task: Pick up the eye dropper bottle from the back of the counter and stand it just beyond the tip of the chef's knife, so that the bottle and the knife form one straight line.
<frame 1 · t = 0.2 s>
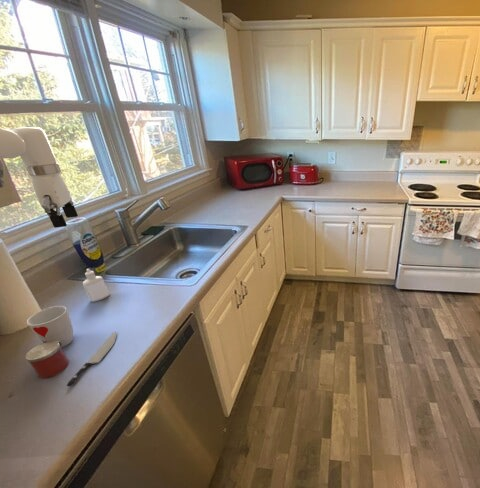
hand: (66, 221, 94), 27 cm above the countertop, tool pointing down, fingers open, 9 cm apart
chef's knife: (99, 357, 76), on the countertop
spice tin: (54, 368, 73), on the countertop
eye dropper bottle: (100, 298, 101), on the countertop
cup: (62, 342, 81), on the countertop
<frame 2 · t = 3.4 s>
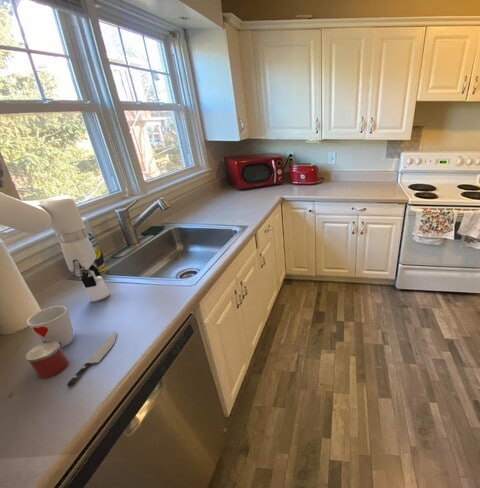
hand: (93, 282, 98), 7 cm above the countertop, tool pointing down, fingers closed on eye dropper bottle, 4 cm apart
eye dropper bottle: (100, 298, 101), on the countertop, touching gripper
everything else where it was.
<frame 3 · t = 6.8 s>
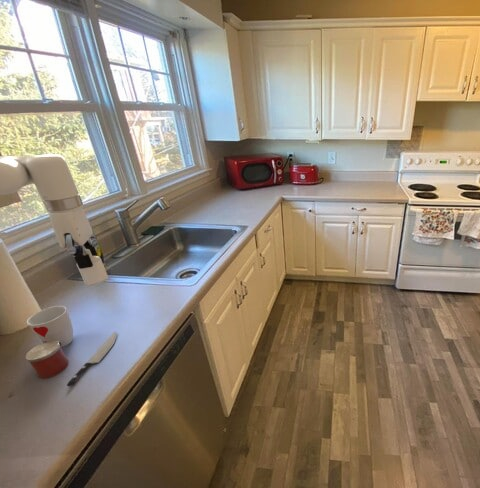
hand: (89, 262, 82), 21 cm above the countertop, tool pointing down, fingers closed on eye dropper bottle, 4 cm apart
eye dropper bottle: (97, 282, 85), point 14 cm above the countertop, touching gripper
everything else where it was.
when the fingers open (7 cm above the countertop, at t = 10.3 s): eye dropper bottle stays where it is, on the countertop.
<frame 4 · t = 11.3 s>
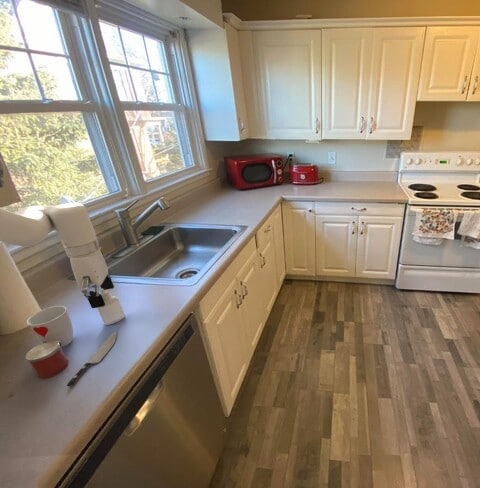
hand: (103, 297, 86), 9 cm above the countertop, tool pointing down, fingers open, 9 cm apart
eye dropper bottle: (115, 320, 90), on the countertop
everything else where it was.
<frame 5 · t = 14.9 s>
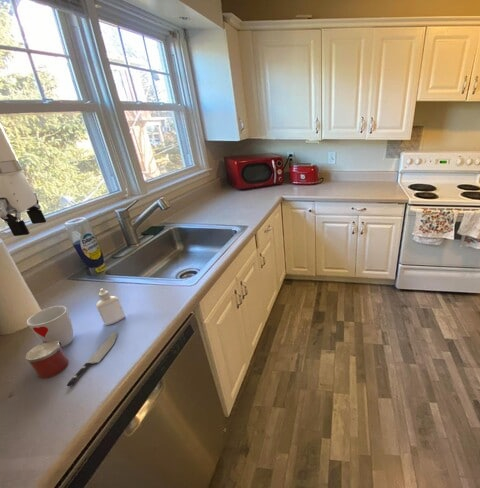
hand: (31, 228, 80), 30 cm above the countertop, tool pointing down, fingers open, 9 cm apart
nothing on the countertop moved.
at the end: eye dropper bottle 0.0 cm from the target spot on the countertop beside the chef's knife, on the countertop; eye dropper bottle tilted 0°; the gripper is holding nothing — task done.
